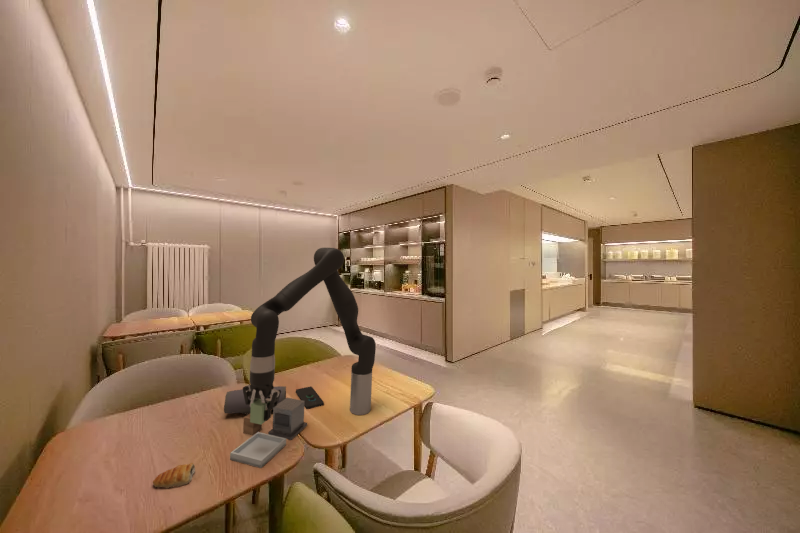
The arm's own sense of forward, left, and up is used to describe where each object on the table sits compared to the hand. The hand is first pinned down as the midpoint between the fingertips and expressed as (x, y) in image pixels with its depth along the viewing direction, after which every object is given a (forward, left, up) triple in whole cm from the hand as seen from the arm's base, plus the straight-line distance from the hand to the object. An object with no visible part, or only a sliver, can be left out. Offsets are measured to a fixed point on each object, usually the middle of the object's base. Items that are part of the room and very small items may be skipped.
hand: (260, 418), depth 96 cm
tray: (0, 0, -11) cm, 11 cm away
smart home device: (-39, -6, -12) cm, 41 cm away
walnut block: (-9, -11, -11) cm, 18 cm away
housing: (-14, +1, -11) cm, 18 cm away
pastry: (+17, -13, -12) cm, 25 cm away
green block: (0, 0, -1) cm, 1 cm away
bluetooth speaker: (-21, -20, -12) cm, 31 cm away
